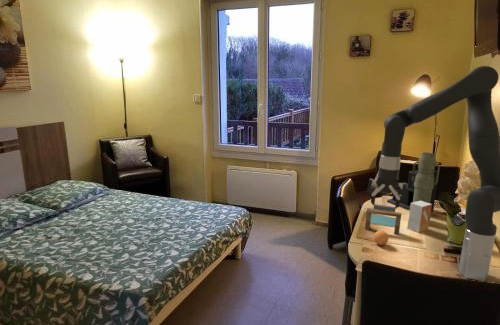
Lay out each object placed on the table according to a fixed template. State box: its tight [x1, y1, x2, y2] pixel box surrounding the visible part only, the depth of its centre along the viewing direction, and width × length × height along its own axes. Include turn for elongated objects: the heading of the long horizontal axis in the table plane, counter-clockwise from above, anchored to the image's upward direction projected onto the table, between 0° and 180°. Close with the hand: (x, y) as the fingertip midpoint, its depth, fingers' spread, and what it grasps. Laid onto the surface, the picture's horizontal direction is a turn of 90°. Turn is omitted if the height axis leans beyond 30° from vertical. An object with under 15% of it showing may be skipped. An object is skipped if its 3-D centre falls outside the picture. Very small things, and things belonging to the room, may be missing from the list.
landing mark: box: [370, 213, 396, 228], centre depth 184 cm, size 13×13×1 cm
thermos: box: [412, 152, 441, 203], centre depth 183 cm, size 9×12×35 cm
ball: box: [373, 230, 389, 246], centre depth 156 cm, size 6×6×6 cm
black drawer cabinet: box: [386, 170, 438, 213], centre depth 204 cm, size 23×11×24 cm, turn 27°
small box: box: [406, 201, 432, 234], centre depth 174 cm, size 8×6×13 cm
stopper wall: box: [373, 203, 396, 212], centre depth 198 cm, size 2×11×3 cm, turn 68°
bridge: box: [364, 207, 402, 236], centre depth 171 cm, size 3×15×10 cm, turn 68°
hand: (384, 206), depth 145 cm, fingers open, 8 cm apart
